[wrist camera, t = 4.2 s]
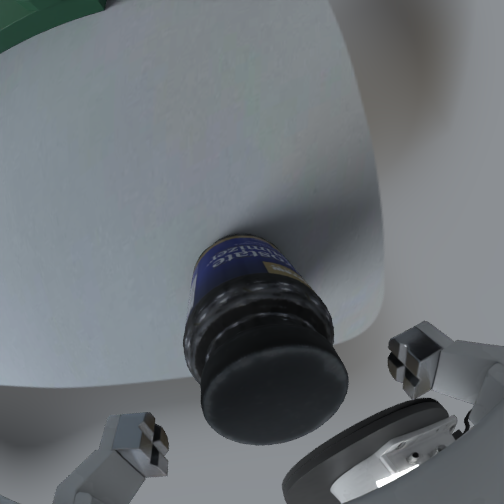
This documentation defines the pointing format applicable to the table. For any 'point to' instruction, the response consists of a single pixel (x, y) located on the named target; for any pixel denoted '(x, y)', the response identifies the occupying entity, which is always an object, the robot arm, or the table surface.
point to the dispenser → (39, 17)
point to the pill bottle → (260, 345)
